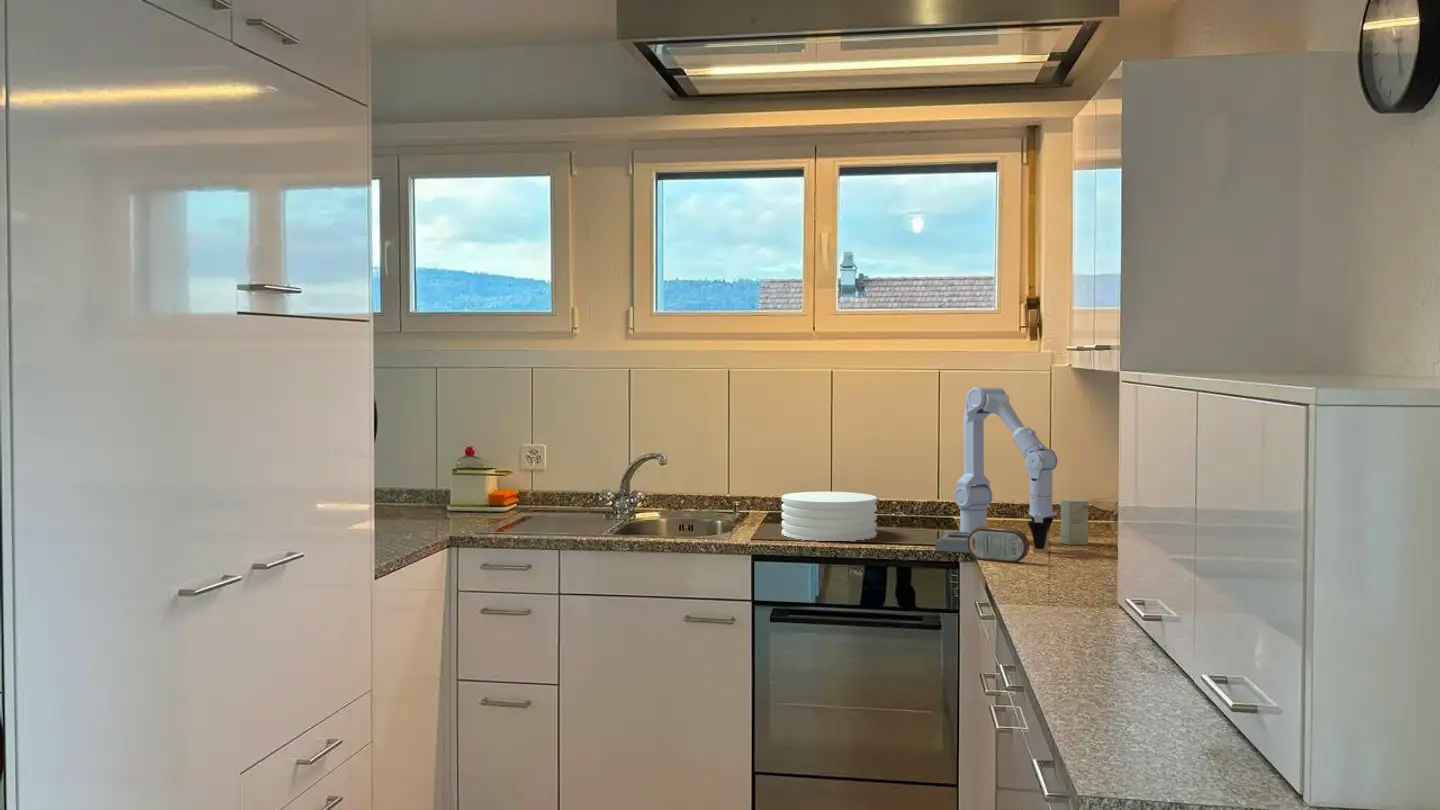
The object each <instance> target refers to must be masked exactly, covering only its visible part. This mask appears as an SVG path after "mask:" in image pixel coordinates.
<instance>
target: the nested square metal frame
mask: <svg viewBox="0 0 1440 810" xmlns="http://www.w3.org/2000/svg"><path fill="white" fill-rule="evenodd" d="M970 533H971V532H967V531H960V530H947V529H946V530H944V531H943V535H942V536H940V537H939V538H938V539H937V540H936V541H935V552H948V553H964V554H971V553H970V551H969V549H968V545H967V540H968V537H969V535H970Z"/></svg>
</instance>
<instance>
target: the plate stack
mask: <svg viewBox="0 0 1440 810" xmlns="http://www.w3.org/2000/svg"><path fill="white" fill-rule="evenodd" d="M877 499H878V497H877V496H876V495H873V494H869V493H868V494H867V493H861V492H860V493H859V492H848V491H847V492H846V491H802V492H792V493H791V492H790V493H785V494H783V495H781V501H782V503H781V510H782V512H781V519H782V521H781V527H782V530H781V535H782V534H783V535H784V536H787V537H791V538H795V539H794V540H797V539H802V540H801V541H804V540H816V541H815V542H817V541H851V542H857V541H856V540H862V541H865V540H864V539H868V540H870V539H869V538H872V539H874V538H873V537H875V536H876V535H878V533H877V531H876V530H877V528H878V527H877V526H878V525H877V522H876V521H877V519H878V517H877V516H878V515H877V510H878V508H877V504H876V503H877ZM783 535H782V536H783ZM784 536H783V537H784ZM787 537H786V538H787ZM876 537H877V536H876ZM876 537H875V538H876ZM791 538H790V539H791Z"/></svg>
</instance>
